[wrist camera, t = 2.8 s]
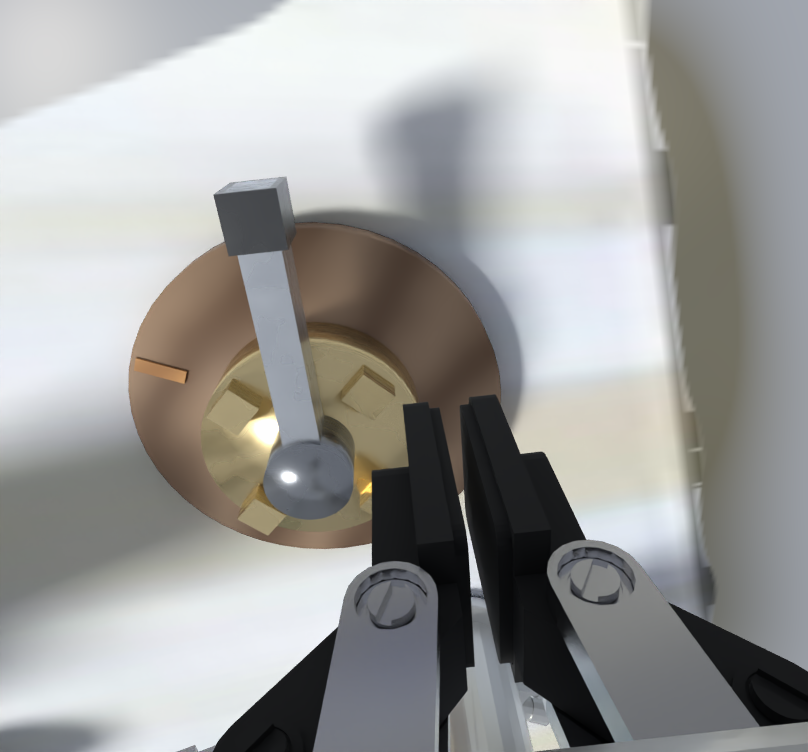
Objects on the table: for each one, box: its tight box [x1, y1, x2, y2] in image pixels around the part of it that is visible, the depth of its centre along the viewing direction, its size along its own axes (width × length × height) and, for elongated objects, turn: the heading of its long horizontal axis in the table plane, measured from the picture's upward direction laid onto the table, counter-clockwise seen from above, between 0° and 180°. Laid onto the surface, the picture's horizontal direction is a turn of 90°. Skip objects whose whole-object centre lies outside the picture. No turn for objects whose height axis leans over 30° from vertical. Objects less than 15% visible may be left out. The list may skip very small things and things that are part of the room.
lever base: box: [129, 222, 501, 549], centre depth 34 cm, size 22×22×2 cm
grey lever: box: [201, 177, 419, 535], centre depth 29 cm, size 20×12×7 cm, turn 5°
